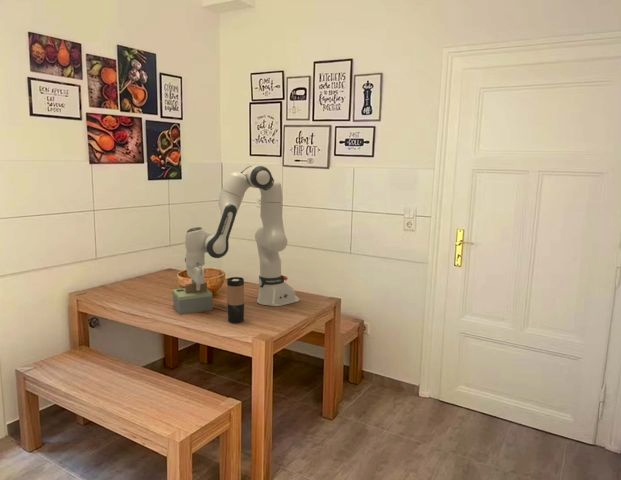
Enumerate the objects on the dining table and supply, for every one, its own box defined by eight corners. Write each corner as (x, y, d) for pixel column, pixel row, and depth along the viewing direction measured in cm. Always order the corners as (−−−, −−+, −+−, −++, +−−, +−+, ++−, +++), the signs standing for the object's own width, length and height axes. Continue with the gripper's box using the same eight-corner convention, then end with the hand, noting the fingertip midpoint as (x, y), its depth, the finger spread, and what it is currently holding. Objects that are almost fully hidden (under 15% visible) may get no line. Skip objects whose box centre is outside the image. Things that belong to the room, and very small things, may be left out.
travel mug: (247, 319, 220) (246, 278, 216) (239, 324, 213) (238, 282, 209) (232, 317, 222) (232, 276, 219) (224, 322, 215) (223, 280, 212)
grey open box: (204, 303, 242) (204, 288, 240) (212, 311, 230) (212, 296, 228) (173, 307, 234) (172, 292, 233) (179, 316, 222) (179, 300, 221)
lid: (204, 288, 240) (204, 278, 239) (212, 296, 228) (212, 285, 227) (172, 292, 233) (172, 281, 232) (179, 300, 221) (178, 289, 220)
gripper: (207, 264, 219) (208, 293, 222) (196, 256, 237) (197, 282, 240) (194, 266, 216) (195, 294, 219) (183, 257, 234) (184, 284, 237)
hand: (196, 288), depth 229 cm, fingers open, 5 cm apart
